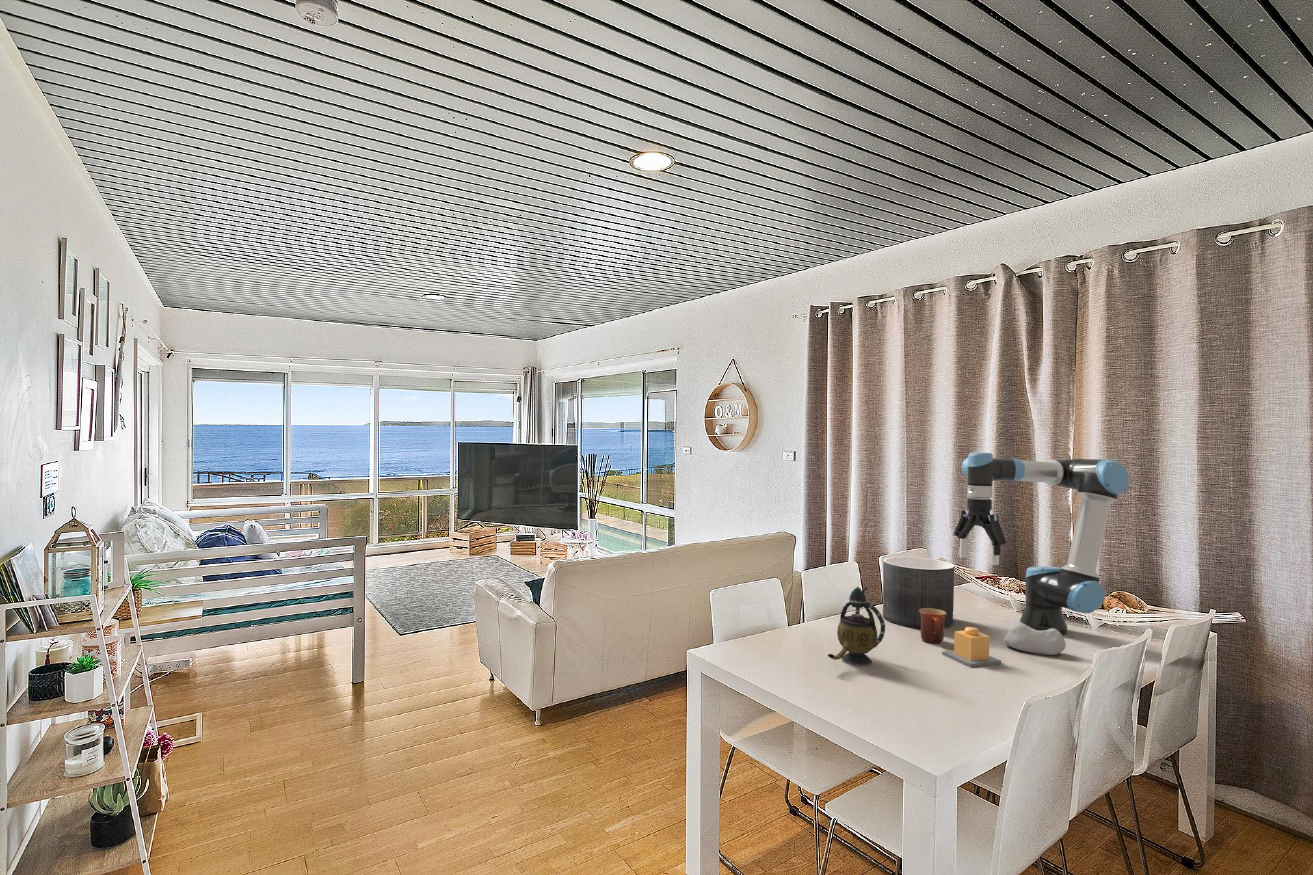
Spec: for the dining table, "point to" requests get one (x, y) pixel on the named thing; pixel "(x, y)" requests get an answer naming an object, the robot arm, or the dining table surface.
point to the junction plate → (968, 662)
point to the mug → (932, 625)
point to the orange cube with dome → (971, 644)
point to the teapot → (858, 631)
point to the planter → (916, 589)
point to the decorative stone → (1035, 640)
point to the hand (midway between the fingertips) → (978, 561)
